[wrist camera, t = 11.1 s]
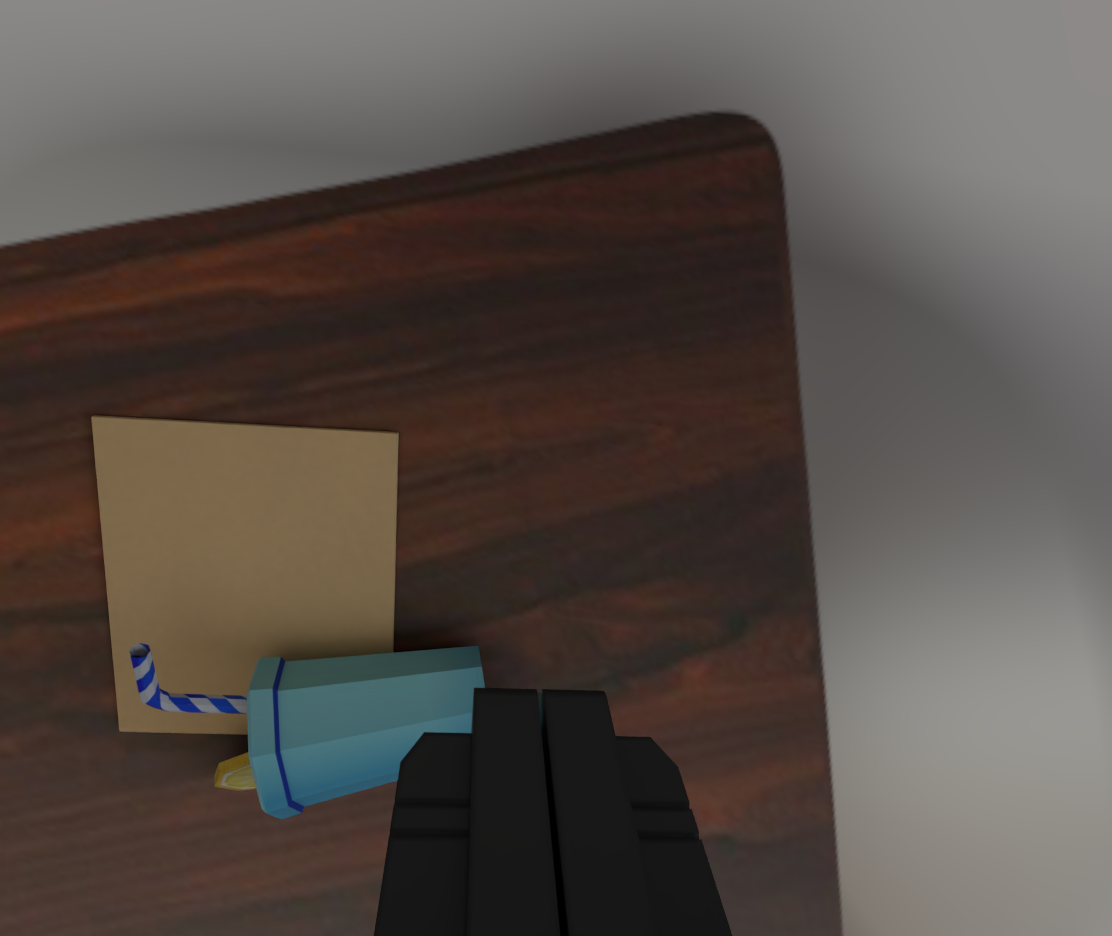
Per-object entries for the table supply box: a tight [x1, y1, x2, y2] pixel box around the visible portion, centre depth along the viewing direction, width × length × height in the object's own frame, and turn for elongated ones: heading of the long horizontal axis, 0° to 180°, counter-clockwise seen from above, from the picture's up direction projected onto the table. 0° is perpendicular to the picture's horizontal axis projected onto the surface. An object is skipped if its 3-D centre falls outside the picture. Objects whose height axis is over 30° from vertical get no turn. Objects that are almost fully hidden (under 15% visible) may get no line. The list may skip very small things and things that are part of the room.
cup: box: [129, 643, 485, 819], centre depth 42 cm, size 14×8×15 cm
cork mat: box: [91, 415, 399, 735], centre depth 43 cm, size 14×17×1 cm
